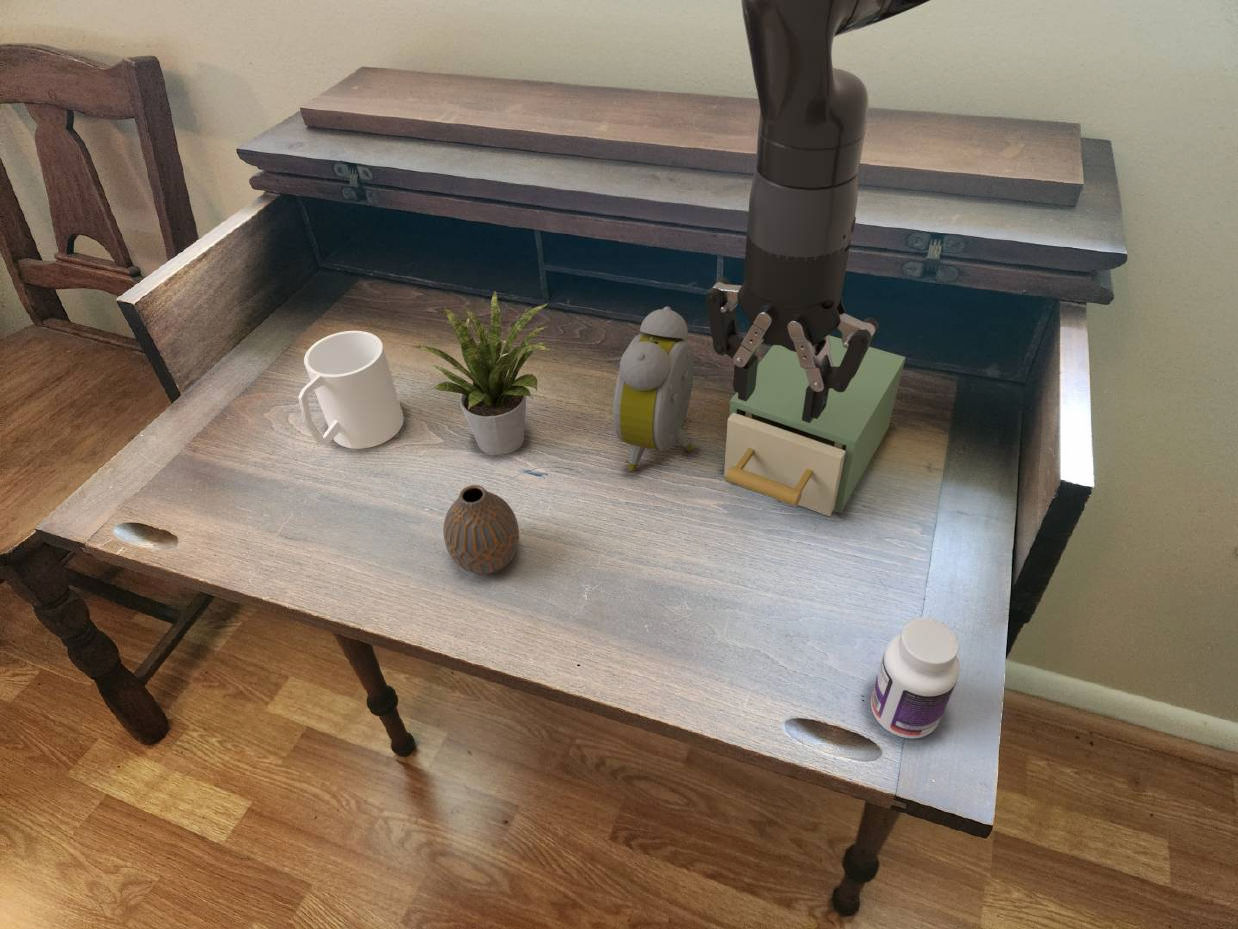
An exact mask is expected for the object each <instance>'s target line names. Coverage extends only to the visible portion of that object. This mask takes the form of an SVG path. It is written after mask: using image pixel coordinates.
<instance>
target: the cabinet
mask: <svg viewBox="0 0 1238 929" xmlns="http://www.w3.org/2000/svg"><path fill="white" fill-rule="evenodd" d="M828 336H829V340H830V344H831V348H830V355H831V359H832V362H833V366H834V367H836V366H840V364H841V362H842V360H843V358H844V355H845V353H846V351H847V349H848V348H844V347H843V343H842V338H840V337H836V336H833V335H830V334H829V335H828ZM905 362H906V356H903V355H899V354H896V353H892V352H889V351H885V350H883V349H879V348H875V347H872V346H869V348H868V350H867V352H866V354H865V356H864V358H863V360H862V362H861V364H860V367H859V369H858V371H857V373H856V374H855V376H854V377H853V378H852V380H851V381H850V383H849V385H848V387H847V388H846V390H845V391H844V392H837V391H835V390H834V389H832V388H831V389H829V393H828V399H827V405H826V407H825V409H824V410H823V412H822V413H821V415H820V416H819V417H818V419H815V418H813V420H812V421H811V423H808V422H805V421H802V414H803V408H804V401H805V394H806V388H807V387H808V386H809V381H808V378H807V375H806V371H805V369H804V368H801V366H800V362H799V359H798V356H797V352H794V351H790V350H788V349H786V348H785V347H783V346H780V345H771V347H770V348H769V350H768V351H767V352H766V354H765V355H764V356H763V357H762V359H761V360H760V361H759V362H758V367H757V377H756V387H755V390H754V392H753V394H752V395H751V396H750V398H749V399H748V400H747V401H746V402H745V401H742V400H739V399H738V393H737V392H735V394H734V395H733V396H732V397H731V398H730V401H729V413H728V414H729V417H730V416H731V414H732V413H736V414H739V415H742V416H745V412H748V413H751V414H754V415H757V416H760V417H763V418H766V419H769V420H772V421H775V422H778V423H781V424H784V425H787V426H790V427H793V428H796V429H799V430H802V431H805V432H807V433H810V434H813V435H816V436H819V437H822V438H825V439H828V440H831V441H834V442H837V443H840V444H843V445H846V450H845V451H846V453H845V458H844V463H843V468H842V473H841V478H840V483H839V488H838V493H837V498H836V502H835V507H834V510H833V512H835V513H838V514H840V515H841V514H842V512H843V511H844V509H845V507H846V506H847V503H848V502H849V499H850V498H851V496H852V494H853V493H854V491H855V489H856V487H857V486H858V483H859V482H860V481H861V479H862V476H863V475H864V473H865V471H866V469H867V468H868V465H869V464H870V462H871V461H872V459H873V456H874V455H875V453H876V452H877V449H878V448H879V447H880V444H881V442H882V440H883V439H884V437H885V435H886V434H887V432H888V430H889V427H890V423H891V419H892V417H893V416H892V415H893V411H894V407H895V403H896V399H897V395H898V390H899V386H900V382H901V378H902V375H903V371H904V367H905ZM729 417H728V418H729Z"/></svg>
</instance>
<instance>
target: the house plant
mask: <svg viewBox="0 0 1238 929" xmlns="http://www.w3.org/2000/svg"><path fill="white" fill-rule="evenodd" d="M490 301H491V302H490V309H489V311H490V314H489V334H488V329H487V326H485V328H484V327H483V325H482V323H481V321H480V320H479V319H478V318H477V316H475V315H474V313H473V312H472V311H471V310H470V309H469V308H468V307H466V306H464V305H462V307H463V309H464V310H465V312H466V313H467V315H468V316H467V319H466V321H465V323H463V321H462V320H460V319H459V318H458V317H457V316H456V315H455V314H454V312H452V311H450V310H448V309H447V308H445V307H443V310H444V312H445V314H446V317H447V319H448V322H449V323H450V325H451V328H452V329H453V332H454V334H455V335H456V337H457V339H458V342H459V344H460V349H461V353H462V357H463V361H464V363H465V365H466V367H467V368H465V367H464V366H463V365H462V364H461V363H460V362H459V361H458V360H456V359H455V358H454V357H453V356H451V355H450V354H448V353H447V352H445V351H443V350H441V349H439V348H435V347H430V346H427V345H421V344H418V345H411V347H412V348H416V349H421V350H423V351H427V352H429V353H431V354H434V355H435V356H437V357H439V358H441V359H443V360H444V361H446V362H448V363H449V364H450V365H452V366H453V367H452V369H454V370H458V371H459V372H460V373H462V374H463V375H465V376H466V377H467V378H468V379H470V381H472V382H471V383H470V382H469V381H467V380H466V379H464V378H463V377H461V376H459V375H457V374H455V373H453V372H452V371H450V370H448V369H447V368H444V367H443V366H439V365H435V364H433V365H432V366H433V367H435V369H436V370H438V371H440V372H441V373H442V374H443V375H444V376H445V377H446V378H447V379H448V380H450V381H451V382H450V381H442V382H440V383H438V384H436V385H435V386H433V387H432V388H431V390H438V391H441V392H447V393H456V394H460V396H459V406H460V407H461V410H462V412H463V415H464V417H465V419H466V422H467V424H468V425H469V428H470V430H471V433H472V434H473V436H474V440H475V442H476V443H477V446H478V448H479V449H480V450H481V451H482V452H483V453H485V454H486V455H487V454H488V455H490V456H503V455H509V454H512V453H514V452H516V451H517V450H519V448H521V446H522V445H523V443H524V442H525V435H526V434H525V431H526V412H527V397H530V398H531V399H534V397H533V396H532V394H531V392H530V388H533V389H534V390H536V393H537V392H538V378H537V377H536V375H534V374H533V373H527V374H523V375H520V376H518V374H519V372H520V370H521V369H522V367H523V366H524V365H525V363H526V361H527V360H529V358H530V356H531V355H532V354H533V353H534V352H535V351H536V350H539V351H540V350H541V351H553V349H552V348H550V347H547V346H544V344H545V343H547V342H548V341H549V340H548V339H547V340H544V341H541V342H537V343H535V344H529V343H530V342H531V341H532V340H533V339H534V337H535V336H536V335H537V334H538V333H540V332H541V331H543V330H545V329H546V328H548V327H549V326H548V325H546V326H542V327H539V328H538V327H537V328H536V329H534V330H533V331H531V332H530V333H529V334H528V335H527V336H526V337H524V339H523V341H522V342H521V343H520V345H519V346H516V347H514V348H513V349H512V347H513V344H514V342H515V341H516V339H517V338H518V335H519V334H520V332H521V331H522V329H523V328H524V326H526V324H527V323H528V322H529V321H530V319H531V318H532V316H534V315H535V314H536V313H537V312H538V311H540V310H542V309H543V308H545V307H546V306H547V305H548V304H550V302H547V303H544V304H541V305H539V306H536V307H534V308H532V309H529V310H528V311H527V312H525V313H524V314H523V315H522V316H521V317H520V318H519V319H518V320H517V321H516V322H515V323H514V325H513V326H512V328H511V330H510V332H509V333H508V336H507V338H506V339H505V338H503V339H502V340H501V331H502V330H501V329H502V314H501V309H500V307H499V306H500V305H499V303H498V302H499V301H498V295H497V292H496V290H494V291H493V294H492V297H491V300H490ZM470 321H472V323H473V324H474V326H473V325H472V324H471V323H470ZM469 326H470V327H471V328H472V330H473V331H474V333H475V334H476V336H477V339H478V340H479V343H478V344H476V341H475V339H474V337H473V335H472V333H471V331H470V329H469ZM502 343H503V344H504V346H503V350H502ZM528 344H529V345H528ZM511 349H512V350H511ZM520 356H521V357H520ZM517 376H518V377H517ZM528 387H529V388H528Z"/></svg>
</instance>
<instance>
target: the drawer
mask: <svg viewBox="0 0 1238 929" xmlns="http://www.w3.org/2000/svg"><path fill="white" fill-rule="evenodd" d="M726 425H727V426H726V440H725V441H726V442H725V456H724V469H723V470H724V471H723V477H724V478H725V479H726V481H727V482H729V483H732V484H734V485H737V486H740V487H743V488H745V489H748V490H749V491H753V492H756V493H759V494H761V495H764V496H766V497H769V498H772V499H775V500H777V501H779V502H782V503H785V504H788V505H791V506H793V507H797V506H802V507H804V508H806V509H809V510H811V511H814V512H816V513H819V514H822V515H825V516H827V517H831V516H832V514H833V512H834V511H833V510H834V507H835V502H836V498H837V493H838V488H839V483H840V478H841V473H842V468H843V463H844V458H845V453H846V451H845V450H846V445H843V444H840V443H837V442H834V441H831V440H828V439H825V438H822V437H819V436H816V435H813V434H810V433H807V432H805V431H802V430H799V429H796V428H793V427H790V426H787V425H784V424H781V423H778V422H775V421H772V420H769V419H766V418H763V417H760V416H757V415H754V414H751V413H748V412H745V416H742V415H739V414H736V413H732V414H731V416H730V417H728V418H727V424H726Z"/></svg>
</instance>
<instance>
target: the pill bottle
mask: <svg viewBox="0 0 1238 929" xmlns="http://www.w3.org/2000/svg"><path fill="white" fill-rule="evenodd" d="M959 650H960V642H959V638H958V636H957V634H956V633H955V632H954V630H953V629H951V628H950V626H948V625H947V624H946V623H944V622H942V621H940V620H938V619H935V618H932V617H931V618H930V617H917V618H914V619H912V620H910V621H908V622H907V623H906V624H905V625H904V627H903V629H902V631H901V632H900V633H898V634H897V635H895V636H894V637H893V638H891V640H890V641H889V642H888V644H887V645H886V648H885V650H884V652H883V655H882V659H881V663H880V666H879V669H878V672H877V674H876V679H875V681H874V686H873V689H872V691H871V697H870V707H871V712H872V714H873V716H874V718H875V719H876V721H877V722H878V723H879V724H880V725H881V726H882V727H883V728H884V729H885V730H886V731H888V732H889V733H891V734H893V735H895V736H897V737H900V738H904V739H912V740H913V739H914V740H915V739H920V738H923V737H926V736H928V735H931V733H933V732H934V731H935V730H936V728H937V727H938V725H939V724H940V721H941V719H942V717H943V715H944V712H945V710H946V708H947V705H948V703H949V701H950V698H951V696H952V693H953V691H954V689H955V686H956V684H957V683H958V679H959V677H960V671H961V668H960V662H959V657H958V653H959Z"/></svg>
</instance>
